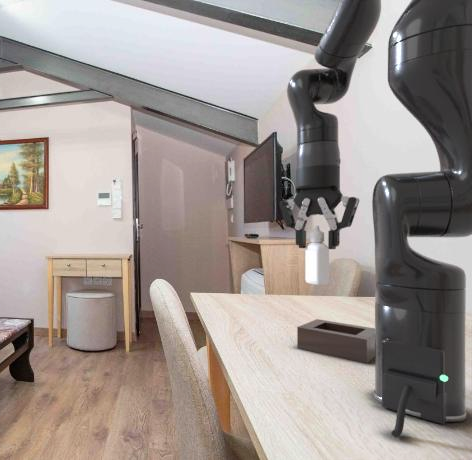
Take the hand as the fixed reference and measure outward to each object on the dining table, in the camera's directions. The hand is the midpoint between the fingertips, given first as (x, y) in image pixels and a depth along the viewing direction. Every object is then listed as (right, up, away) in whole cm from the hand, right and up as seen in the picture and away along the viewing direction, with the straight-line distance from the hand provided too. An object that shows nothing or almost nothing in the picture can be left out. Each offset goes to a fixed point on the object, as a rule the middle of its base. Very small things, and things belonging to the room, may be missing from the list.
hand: (317, 248), depth 79 cm
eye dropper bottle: (0, -8, 0) cm, 8 cm away
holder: (+5, -21, +1) cm, 22 cm away
